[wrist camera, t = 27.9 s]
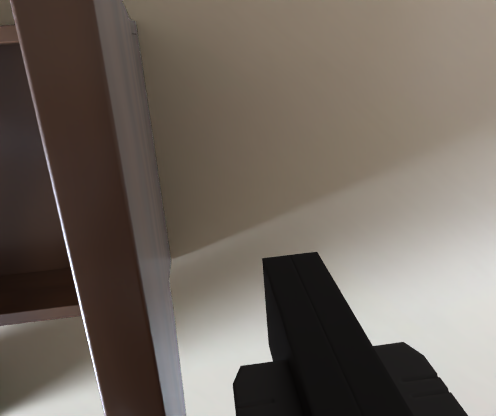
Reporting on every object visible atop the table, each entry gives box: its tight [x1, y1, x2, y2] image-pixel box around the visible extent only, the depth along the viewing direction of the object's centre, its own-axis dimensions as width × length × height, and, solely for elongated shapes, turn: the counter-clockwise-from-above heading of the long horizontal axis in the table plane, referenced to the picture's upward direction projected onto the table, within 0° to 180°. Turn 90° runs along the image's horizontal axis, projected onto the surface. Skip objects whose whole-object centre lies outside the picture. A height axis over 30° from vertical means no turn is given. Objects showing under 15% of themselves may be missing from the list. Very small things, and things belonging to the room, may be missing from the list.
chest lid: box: [10, 0, 186, 416], centre depth 17 cm, size 20×17×1 cm
